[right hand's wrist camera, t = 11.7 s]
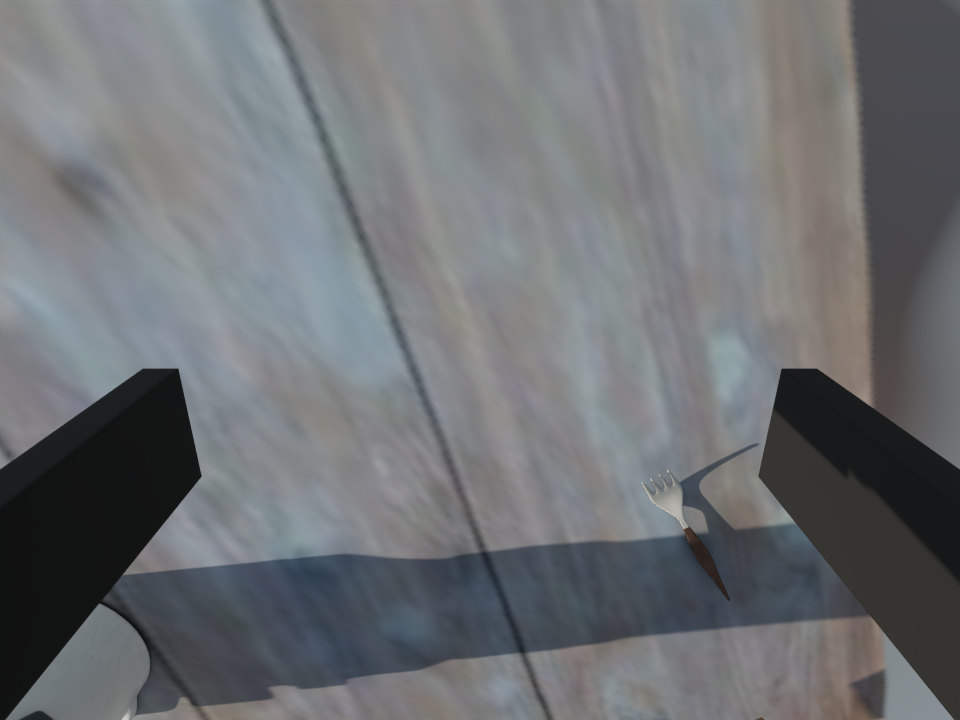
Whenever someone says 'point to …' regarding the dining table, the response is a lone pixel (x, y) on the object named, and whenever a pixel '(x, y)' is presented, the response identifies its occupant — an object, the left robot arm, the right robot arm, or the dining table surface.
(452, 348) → the dining table surface
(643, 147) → the dining table surface
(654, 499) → the fork
